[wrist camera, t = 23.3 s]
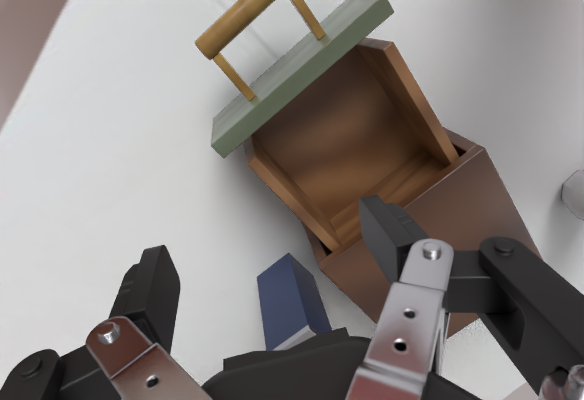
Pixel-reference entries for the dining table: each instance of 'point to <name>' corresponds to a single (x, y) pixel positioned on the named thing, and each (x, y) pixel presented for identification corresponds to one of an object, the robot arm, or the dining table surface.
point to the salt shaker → (574, 194)
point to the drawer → (330, 117)
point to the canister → (290, 305)
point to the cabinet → (433, 227)
